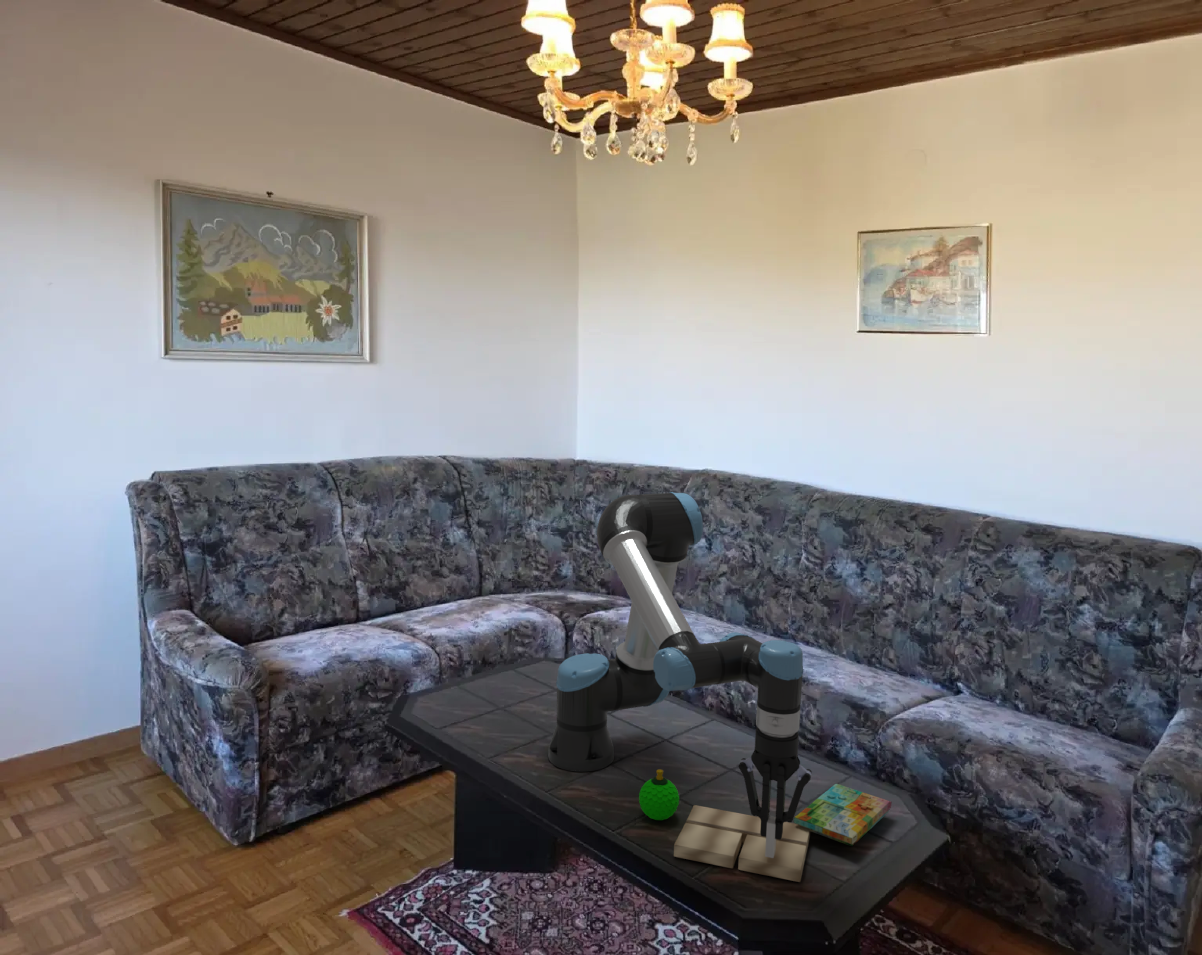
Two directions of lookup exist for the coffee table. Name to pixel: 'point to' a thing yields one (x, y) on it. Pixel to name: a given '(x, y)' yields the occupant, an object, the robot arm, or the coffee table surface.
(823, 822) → the puzzle game
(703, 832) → the plank
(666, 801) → the ornament
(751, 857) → the plank
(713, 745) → the coffee table surface
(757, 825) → the laid board
